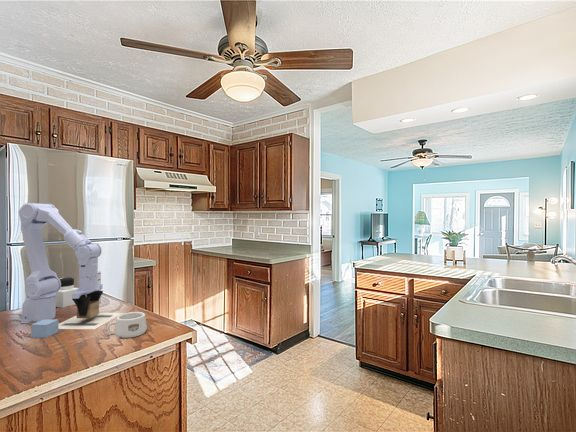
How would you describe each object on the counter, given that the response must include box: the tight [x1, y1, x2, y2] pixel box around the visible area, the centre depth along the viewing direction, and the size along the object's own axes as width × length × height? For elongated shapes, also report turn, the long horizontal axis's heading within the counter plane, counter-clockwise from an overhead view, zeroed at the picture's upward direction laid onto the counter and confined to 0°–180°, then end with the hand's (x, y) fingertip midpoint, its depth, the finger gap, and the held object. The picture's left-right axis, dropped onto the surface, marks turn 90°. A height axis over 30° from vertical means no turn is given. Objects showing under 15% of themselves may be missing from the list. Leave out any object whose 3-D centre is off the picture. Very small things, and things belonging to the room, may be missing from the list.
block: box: [76, 301, 100, 318], centre depth 114 cm, size 5×5×5 cm
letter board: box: [58, 312, 123, 330], centre depth 114 cm, size 16×18×1 cm
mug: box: [106, 311, 148, 339], centre depth 103 cm, size 12×10×6 cm
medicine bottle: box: [56, 276, 79, 309], centre depth 136 cm, size 7×7×12 cm
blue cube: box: [30, 318, 60, 339], centre depth 100 cm, size 5×5×5 cm
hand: (87, 313), depth 114 cm, fingers closed on block, 5 cm apart
